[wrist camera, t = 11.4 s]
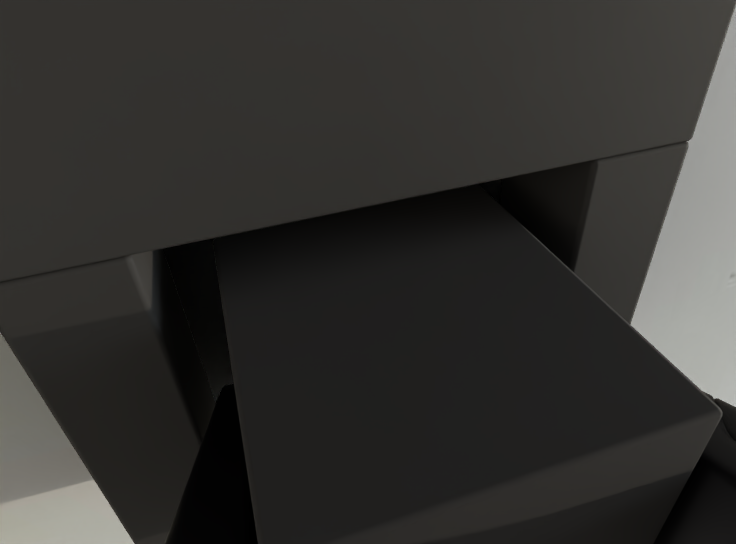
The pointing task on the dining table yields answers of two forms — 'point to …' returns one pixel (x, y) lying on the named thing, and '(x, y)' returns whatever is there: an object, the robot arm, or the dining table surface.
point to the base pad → (302, 168)
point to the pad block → (445, 385)
